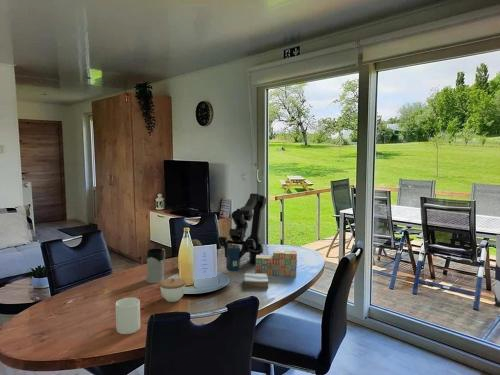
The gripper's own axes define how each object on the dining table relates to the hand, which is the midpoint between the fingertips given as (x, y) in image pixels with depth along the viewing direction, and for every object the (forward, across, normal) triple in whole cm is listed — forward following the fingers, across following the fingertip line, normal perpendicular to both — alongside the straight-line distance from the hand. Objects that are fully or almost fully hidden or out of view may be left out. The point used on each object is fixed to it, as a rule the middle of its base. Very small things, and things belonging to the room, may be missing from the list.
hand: (232, 257), depth 180 cm
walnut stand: (+7, +11, +11) cm, 17 cm away
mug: (+48, -20, -30) cm, 60 cm away
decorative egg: (-4, -30, +22) cm, 37 cm away
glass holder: (+14, -38, +5) cm, 41 cm away
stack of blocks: (-5, +17, +24) cm, 30 cm away
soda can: (+4, 0, +6) cm, 7 cm away
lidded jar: (+28, -17, -10) cm, 34 cm away
